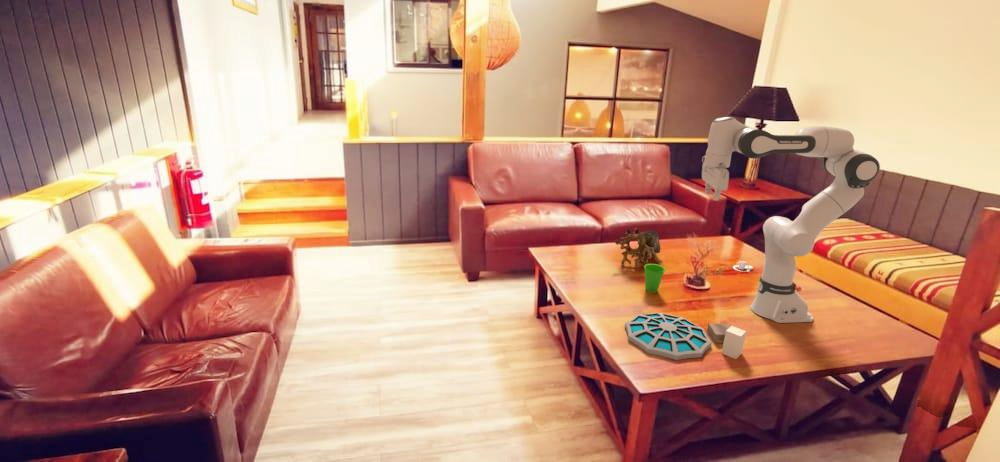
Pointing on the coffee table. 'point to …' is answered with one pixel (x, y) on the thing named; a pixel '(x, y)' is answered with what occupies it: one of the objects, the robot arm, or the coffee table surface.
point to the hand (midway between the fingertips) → (711, 196)
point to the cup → (653, 276)
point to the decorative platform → (667, 336)
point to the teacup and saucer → (743, 266)
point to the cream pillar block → (733, 342)
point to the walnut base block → (717, 331)
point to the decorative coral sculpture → (641, 246)
